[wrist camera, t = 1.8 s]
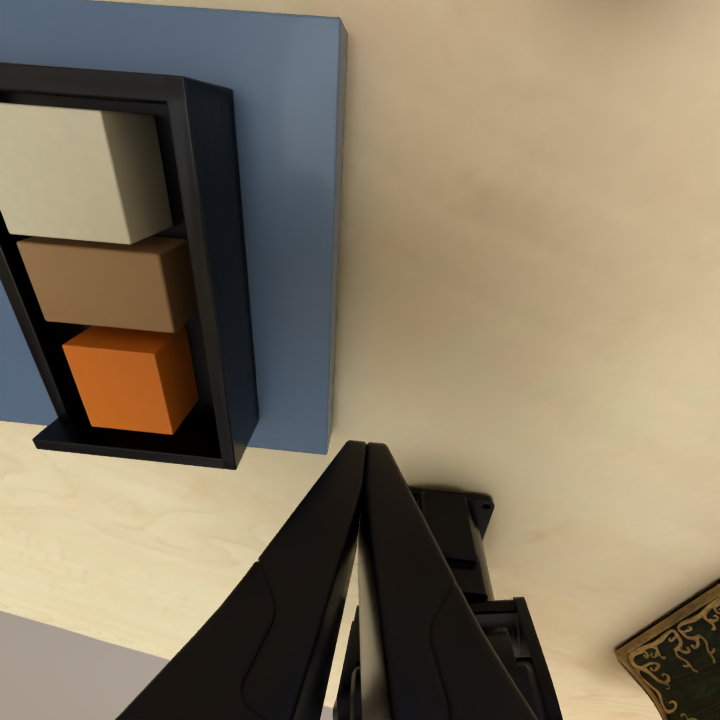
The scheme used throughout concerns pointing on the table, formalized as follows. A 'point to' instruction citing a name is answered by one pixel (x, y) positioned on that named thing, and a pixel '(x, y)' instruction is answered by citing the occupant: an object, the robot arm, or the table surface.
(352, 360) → the table surface
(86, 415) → the black open tray
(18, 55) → the blue flat slab
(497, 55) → the table surface
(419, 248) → the table surface
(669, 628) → the decorative box
